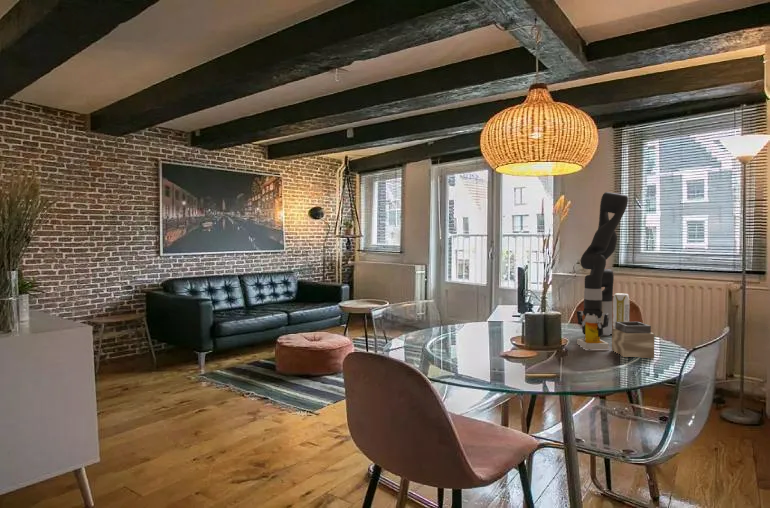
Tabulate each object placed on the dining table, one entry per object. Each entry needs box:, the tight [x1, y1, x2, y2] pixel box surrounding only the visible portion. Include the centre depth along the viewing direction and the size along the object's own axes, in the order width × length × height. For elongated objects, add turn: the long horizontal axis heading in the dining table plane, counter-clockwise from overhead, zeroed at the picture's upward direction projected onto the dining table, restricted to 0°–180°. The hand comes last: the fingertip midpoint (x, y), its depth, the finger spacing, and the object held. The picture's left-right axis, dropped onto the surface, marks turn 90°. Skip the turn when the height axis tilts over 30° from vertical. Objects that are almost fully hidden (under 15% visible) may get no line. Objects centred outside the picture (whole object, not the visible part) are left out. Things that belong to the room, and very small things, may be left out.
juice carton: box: [612, 292, 630, 328], centre depth 259 cm, size 8×9×19 cm
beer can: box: [584, 314, 601, 343], centre depth 217 cm, size 6×6×15 cm
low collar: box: [576, 338, 610, 349], centre depth 218 cm, size 10×10×3 cm
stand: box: [611, 321, 656, 359], centre depth 205 cm, size 12×12×13 cm
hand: (592, 335), depth 218 cm, fingers closed on beer can, 6 cm apart
